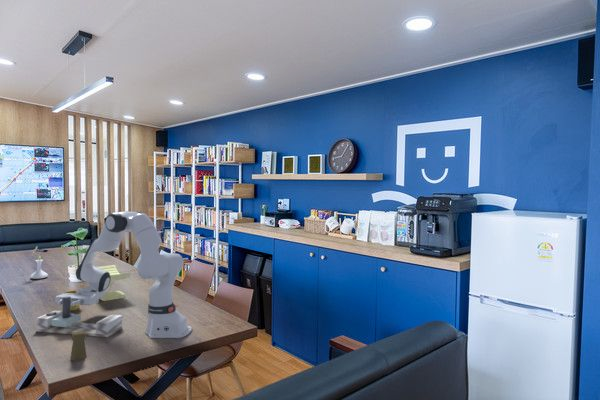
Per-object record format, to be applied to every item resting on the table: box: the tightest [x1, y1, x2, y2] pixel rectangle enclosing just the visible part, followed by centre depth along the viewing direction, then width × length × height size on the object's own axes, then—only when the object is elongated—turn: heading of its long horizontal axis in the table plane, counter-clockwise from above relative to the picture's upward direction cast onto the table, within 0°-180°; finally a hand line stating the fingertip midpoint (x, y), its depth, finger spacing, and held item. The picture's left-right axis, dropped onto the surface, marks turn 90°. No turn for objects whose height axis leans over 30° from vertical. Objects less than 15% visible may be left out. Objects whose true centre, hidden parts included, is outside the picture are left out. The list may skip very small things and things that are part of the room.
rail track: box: [36, 310, 123, 338], centre depth 194 cm, size 38×12×7 cm, turn 83°
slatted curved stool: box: [97, 264, 131, 302], centre depth 250 cm, size 30×16×18 cm, turn 43°
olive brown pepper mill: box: [70, 331, 88, 362], centre depth 164 cm, size 6×6×11 cm
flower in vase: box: [29, 246, 49, 280], centre depth 293 cm, size 13×11×25 cm
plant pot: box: [62, 289, 81, 311], centre depth 225 cm, size 10×10×10 cm
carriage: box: [52, 297, 82, 328], centre depth 195 cm, size 8×10×14 cm
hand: (65, 303), depth 194 cm, fingers open, 6 cm apart
